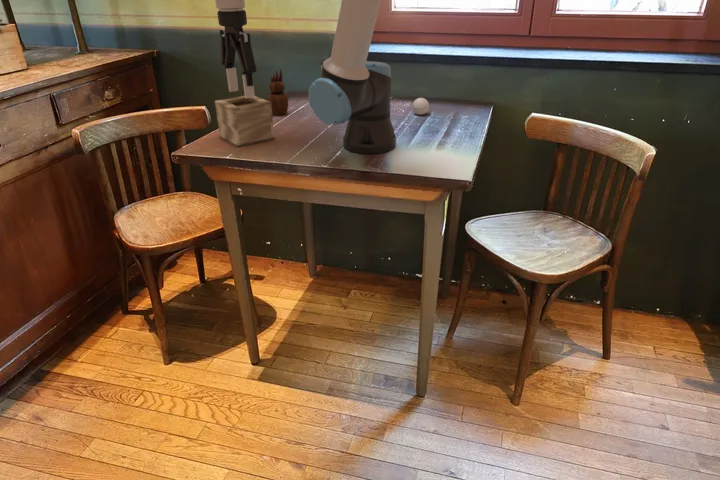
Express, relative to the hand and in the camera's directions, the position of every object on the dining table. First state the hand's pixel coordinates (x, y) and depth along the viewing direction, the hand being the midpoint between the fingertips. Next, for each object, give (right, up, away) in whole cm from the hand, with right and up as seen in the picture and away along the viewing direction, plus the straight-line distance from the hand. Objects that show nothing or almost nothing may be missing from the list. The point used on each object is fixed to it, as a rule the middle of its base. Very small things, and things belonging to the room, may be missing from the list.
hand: (241, 94), depth 148 cm
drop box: (0, -11, +6) cm, 13 cm away
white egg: (+54, 0, +26) cm, 60 cm away
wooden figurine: (+6, +1, +29) cm, 30 cm away
